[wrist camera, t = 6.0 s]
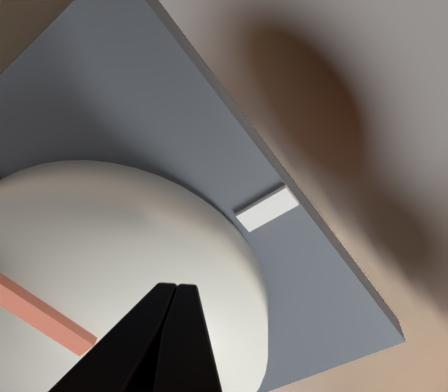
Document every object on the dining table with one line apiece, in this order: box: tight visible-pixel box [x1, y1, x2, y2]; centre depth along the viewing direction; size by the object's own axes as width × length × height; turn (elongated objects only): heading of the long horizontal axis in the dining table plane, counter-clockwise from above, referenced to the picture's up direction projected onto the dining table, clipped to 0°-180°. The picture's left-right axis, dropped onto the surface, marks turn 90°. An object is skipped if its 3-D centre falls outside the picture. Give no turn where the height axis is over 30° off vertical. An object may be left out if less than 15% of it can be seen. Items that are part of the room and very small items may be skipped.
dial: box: [0, 160, 268, 392], centre depth 12 cm, size 11×11×7 cm
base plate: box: [0, 0, 405, 392], centre depth 15 cm, size 16×15×1 cm
